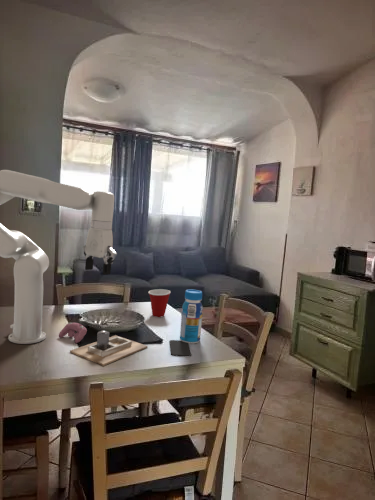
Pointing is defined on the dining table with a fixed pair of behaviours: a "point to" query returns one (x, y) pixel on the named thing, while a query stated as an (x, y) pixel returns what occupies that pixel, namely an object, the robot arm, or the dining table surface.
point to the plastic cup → (159, 301)
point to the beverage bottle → (191, 317)
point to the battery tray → (109, 350)
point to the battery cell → (103, 340)
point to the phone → (179, 348)
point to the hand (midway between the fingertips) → (97, 271)
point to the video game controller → (70, 330)
